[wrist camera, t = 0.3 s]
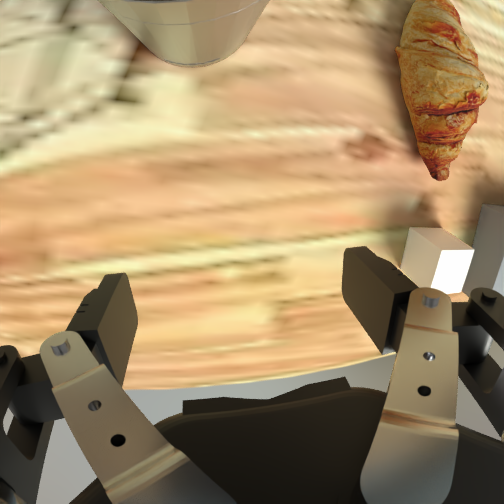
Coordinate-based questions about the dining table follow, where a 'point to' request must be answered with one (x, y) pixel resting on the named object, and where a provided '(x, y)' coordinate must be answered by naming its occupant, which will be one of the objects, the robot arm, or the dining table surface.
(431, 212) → the dining table surface
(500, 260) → the grey box
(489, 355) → the robot arm
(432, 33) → the croissant
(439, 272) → the white block
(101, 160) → the dining table surface
